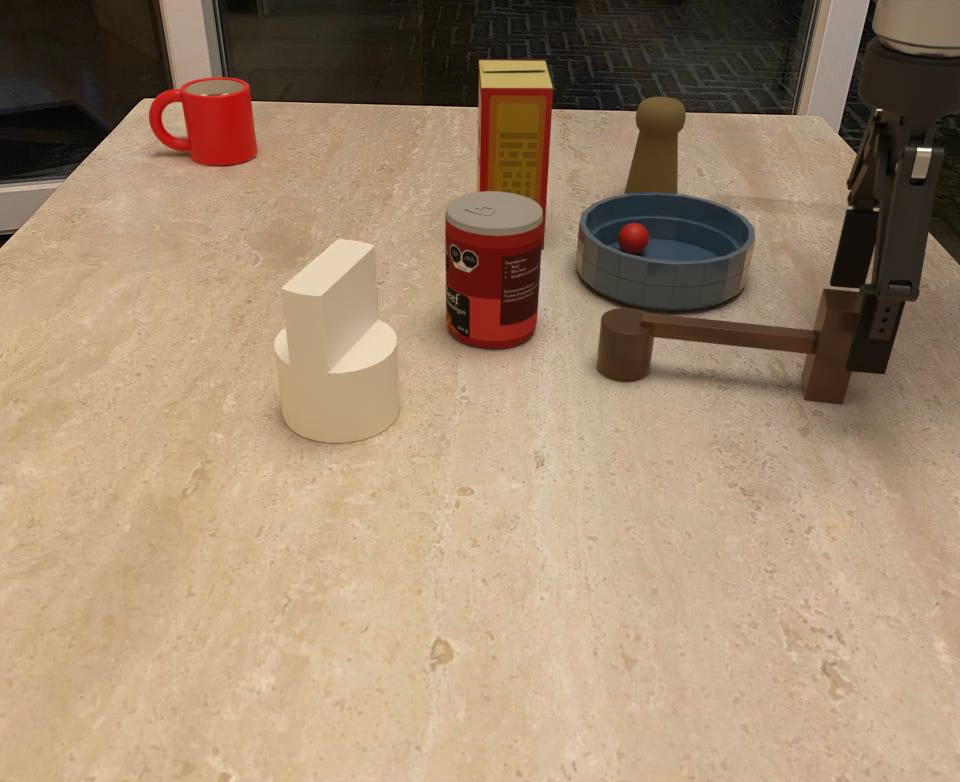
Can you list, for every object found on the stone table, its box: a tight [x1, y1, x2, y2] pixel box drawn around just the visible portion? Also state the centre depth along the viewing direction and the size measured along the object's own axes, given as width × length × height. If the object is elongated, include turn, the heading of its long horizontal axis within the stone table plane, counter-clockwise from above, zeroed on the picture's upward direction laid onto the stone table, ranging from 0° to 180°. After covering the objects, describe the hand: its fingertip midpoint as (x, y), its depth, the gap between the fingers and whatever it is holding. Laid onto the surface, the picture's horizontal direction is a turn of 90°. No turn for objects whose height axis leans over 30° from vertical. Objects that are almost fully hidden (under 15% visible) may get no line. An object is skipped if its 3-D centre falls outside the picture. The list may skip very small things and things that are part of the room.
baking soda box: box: [476, 59, 554, 250], centre depth 99 cm, size 10×6×16 cm
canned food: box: [444, 191, 543, 349], centre depth 84 cm, size 8×8×11 cm
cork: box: [623, 96, 687, 194], centre depth 107 cm, size 6×6×11 cm
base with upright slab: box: [273, 238, 401, 444], centre depth 74 cm, size 9×9×12 cm
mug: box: [148, 76, 258, 166], centre depth 117 cm, size 8×12×8 cm, turn 98°
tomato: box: [618, 223, 649, 254], centre depth 98 cm, size 3×3×3 cm
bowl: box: [575, 192, 756, 312], centre depth 95 cm, size 16×16×5 cm
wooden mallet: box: [596, 287, 864, 405], centre depth 79 cm, size 20×4×8 cm, turn 79°
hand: (855, 325), depth 79 cm, fingers open, 13 cm apart
